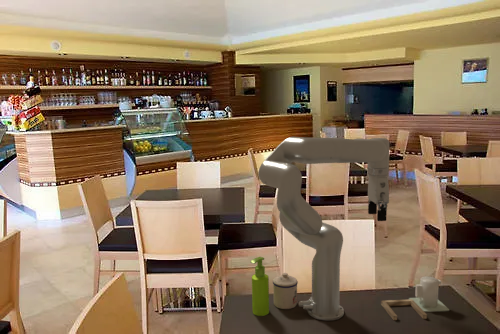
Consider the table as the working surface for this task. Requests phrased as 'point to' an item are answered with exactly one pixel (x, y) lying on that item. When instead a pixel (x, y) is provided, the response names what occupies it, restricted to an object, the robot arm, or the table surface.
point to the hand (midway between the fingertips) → (376, 217)
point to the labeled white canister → (428, 291)
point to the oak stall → (402, 302)
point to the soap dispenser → (260, 289)
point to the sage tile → (439, 308)
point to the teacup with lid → (285, 291)
